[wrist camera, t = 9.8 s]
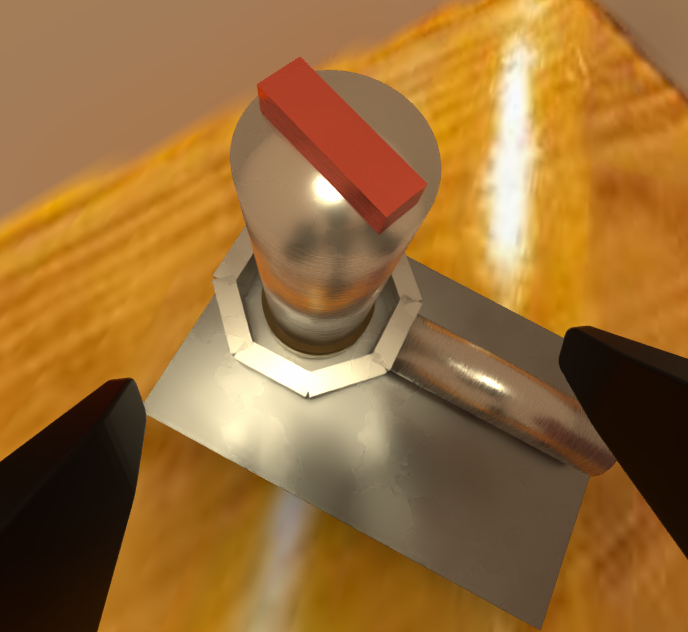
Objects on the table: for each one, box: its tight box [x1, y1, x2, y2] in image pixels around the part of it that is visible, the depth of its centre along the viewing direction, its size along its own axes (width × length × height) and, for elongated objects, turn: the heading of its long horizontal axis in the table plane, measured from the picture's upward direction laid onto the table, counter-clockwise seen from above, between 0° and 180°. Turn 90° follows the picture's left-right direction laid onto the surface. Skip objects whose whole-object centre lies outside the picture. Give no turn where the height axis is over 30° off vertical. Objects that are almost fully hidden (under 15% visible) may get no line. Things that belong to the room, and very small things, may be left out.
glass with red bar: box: [230, 57, 441, 359], centre depth 15 cm, size 5×5×13 cm
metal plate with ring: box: [144, 226, 617, 630], centre depth 20 cm, size 21×13×4 cm, turn 63°
